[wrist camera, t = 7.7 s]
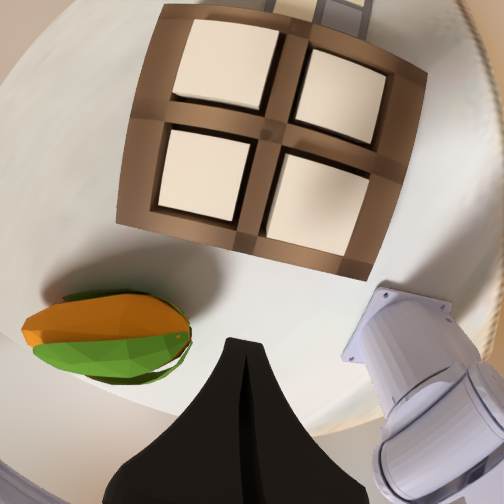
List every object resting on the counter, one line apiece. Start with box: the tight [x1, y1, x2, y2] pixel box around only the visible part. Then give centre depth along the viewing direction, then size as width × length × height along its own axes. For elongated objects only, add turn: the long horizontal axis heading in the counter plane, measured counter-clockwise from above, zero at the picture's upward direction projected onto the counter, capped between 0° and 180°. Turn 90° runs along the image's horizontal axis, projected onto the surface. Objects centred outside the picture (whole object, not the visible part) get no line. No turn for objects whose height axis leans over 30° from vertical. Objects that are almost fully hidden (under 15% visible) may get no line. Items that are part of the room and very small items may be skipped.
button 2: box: [292, 49, 386, 144], centre depth 13 cm, size 4×4×2 cm
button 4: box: [172, 19, 279, 111], centre depth 12 cm, size 4×4×2 cm
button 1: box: [266, 153, 369, 256], centre depth 15 cm, size 4×4×2 cm
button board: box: [116, 4, 428, 282], centre depth 15 cm, size 16×14×4 cm
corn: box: [21, 289, 193, 385], centre depth 19 cm, size 7×8×20 cm
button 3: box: [158, 130, 251, 221], centre depth 16 cm, size 4×4×2 cm
